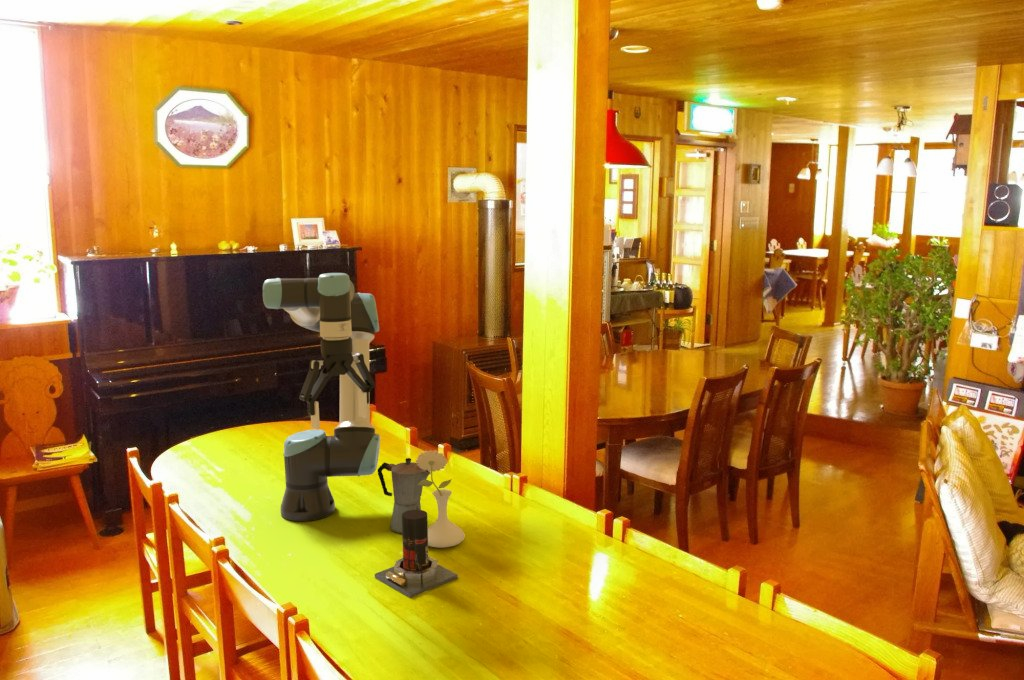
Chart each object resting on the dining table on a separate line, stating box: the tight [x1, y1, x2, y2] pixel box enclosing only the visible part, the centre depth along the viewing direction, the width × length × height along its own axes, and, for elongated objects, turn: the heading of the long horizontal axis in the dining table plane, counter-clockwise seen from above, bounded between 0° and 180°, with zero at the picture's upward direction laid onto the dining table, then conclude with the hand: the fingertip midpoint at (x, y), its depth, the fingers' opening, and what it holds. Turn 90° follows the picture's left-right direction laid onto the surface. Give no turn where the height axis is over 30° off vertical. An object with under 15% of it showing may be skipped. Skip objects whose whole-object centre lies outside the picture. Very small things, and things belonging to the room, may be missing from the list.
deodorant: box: [401, 509, 429, 571], centre depth 196 cm, size 6×6×15 cm
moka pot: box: [377, 457, 431, 534], centre depth 225 cm, size 10×15×20 cm, turn 78°
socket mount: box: [374, 555, 459, 599], centre depth 198 cm, size 14×14×4 cm
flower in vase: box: [415, 449, 466, 549], centre depth 216 cm, size 13×11×25 cm
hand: (339, 422), depth 205 cm, fingers open, 13 cm apart
